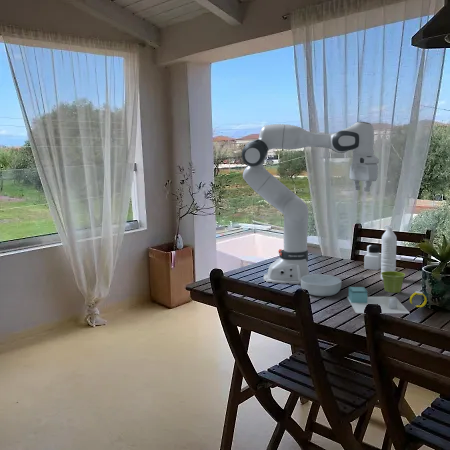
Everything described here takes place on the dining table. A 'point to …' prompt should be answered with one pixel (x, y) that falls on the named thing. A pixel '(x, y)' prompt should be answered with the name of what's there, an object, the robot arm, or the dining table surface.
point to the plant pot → (392, 281)
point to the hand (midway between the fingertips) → (362, 190)
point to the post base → (385, 302)
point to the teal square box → (358, 295)
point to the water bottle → (388, 250)
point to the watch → (418, 294)
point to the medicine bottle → (372, 258)
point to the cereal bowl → (321, 284)
